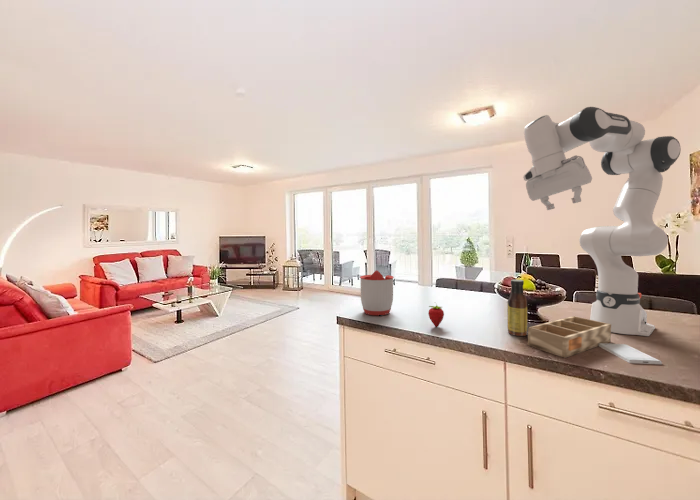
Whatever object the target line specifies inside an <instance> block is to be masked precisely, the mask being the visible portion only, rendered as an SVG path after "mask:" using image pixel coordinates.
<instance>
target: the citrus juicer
mask: <svg viewBox="0 0 700 500" xmlns="http://www.w3.org/2000/svg"><path fill="white" fill-rule="evenodd" d="M359 278H360V301H361V306H362V309H363V312H364V314H366V315H369V316H379V315H383V316H385V315H388V314H390V312H391V309H392V306H393V301H394V276H392V275H385V276H383V275H382V273H381V272H380V271H379V270H374V272H373V273H372V274H365V275H360V276H359Z"/></svg>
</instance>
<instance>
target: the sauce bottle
mask: <svg viewBox="0 0 700 500" xmlns="http://www.w3.org/2000/svg"><path fill="white" fill-rule="evenodd" d="M524 284H525V281H524V280H523V279H511V280H510V286H511V287H510V289H511V290H510V291H511V292H510V294H509V296H508V300H507V302H506V303H507V305H506V306H507V333H509V334H510V335H512V336H516V337H525V336H527V335H528V299H527V297H526V295H525V294H524Z"/></svg>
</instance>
